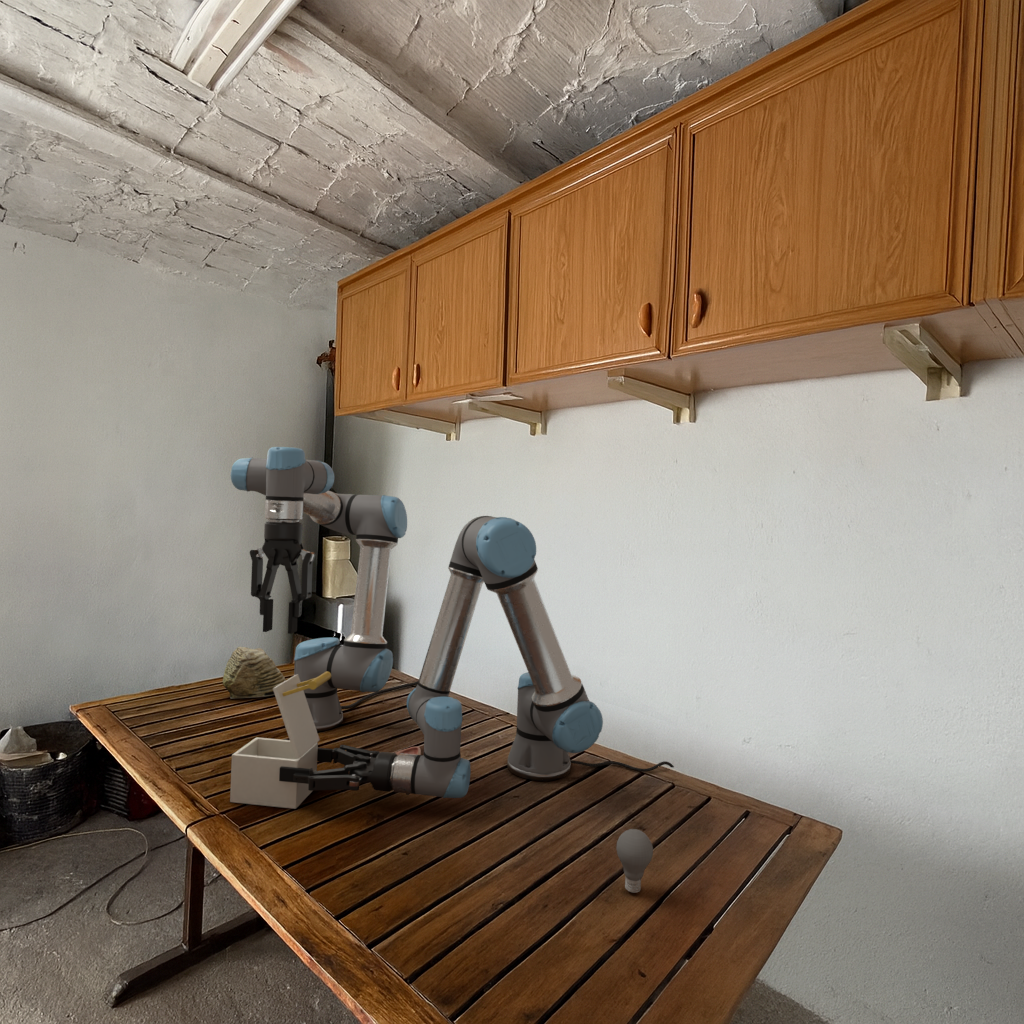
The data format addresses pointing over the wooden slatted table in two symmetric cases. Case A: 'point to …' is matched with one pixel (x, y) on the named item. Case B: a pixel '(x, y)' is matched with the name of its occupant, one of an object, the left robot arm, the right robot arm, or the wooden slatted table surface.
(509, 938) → the wooden slatted table surface
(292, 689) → the lid
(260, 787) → the chest
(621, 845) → the light bulb
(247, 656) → the fossil
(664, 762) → the right robot arm
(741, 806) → the wooden slatted table surface
